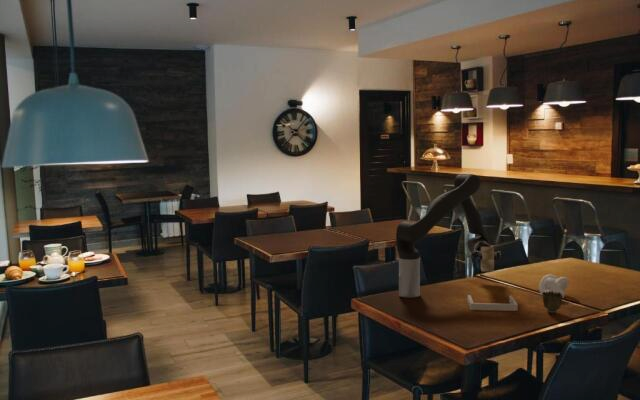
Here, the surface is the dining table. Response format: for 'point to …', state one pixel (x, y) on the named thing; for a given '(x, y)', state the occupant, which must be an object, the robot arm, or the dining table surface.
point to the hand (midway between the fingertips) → (488, 257)
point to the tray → (493, 305)
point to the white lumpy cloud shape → (553, 284)
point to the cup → (552, 301)
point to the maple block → (487, 259)
